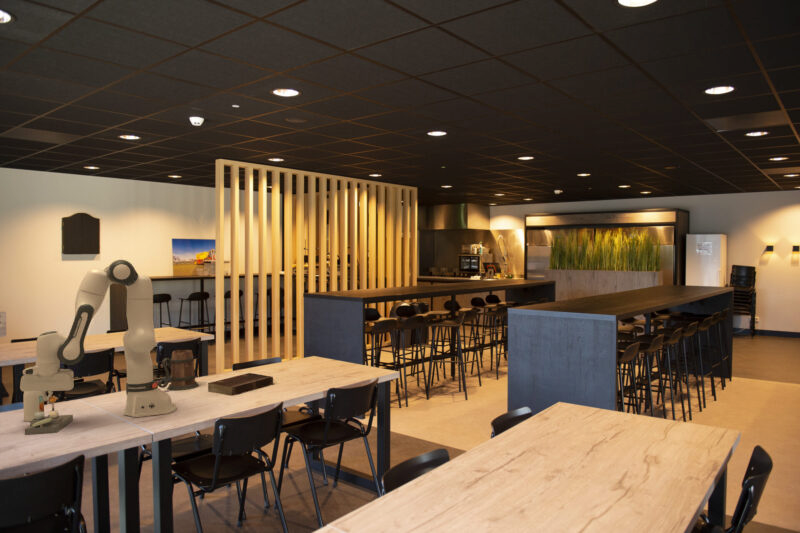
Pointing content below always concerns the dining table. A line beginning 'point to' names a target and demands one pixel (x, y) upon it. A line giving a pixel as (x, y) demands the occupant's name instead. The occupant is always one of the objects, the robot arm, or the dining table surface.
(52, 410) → the toggle lever
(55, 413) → the button cream
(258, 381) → the dark brown flat block
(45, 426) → the panel
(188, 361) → the tankard
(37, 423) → the rocker sage
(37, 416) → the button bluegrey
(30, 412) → the milk bottle
